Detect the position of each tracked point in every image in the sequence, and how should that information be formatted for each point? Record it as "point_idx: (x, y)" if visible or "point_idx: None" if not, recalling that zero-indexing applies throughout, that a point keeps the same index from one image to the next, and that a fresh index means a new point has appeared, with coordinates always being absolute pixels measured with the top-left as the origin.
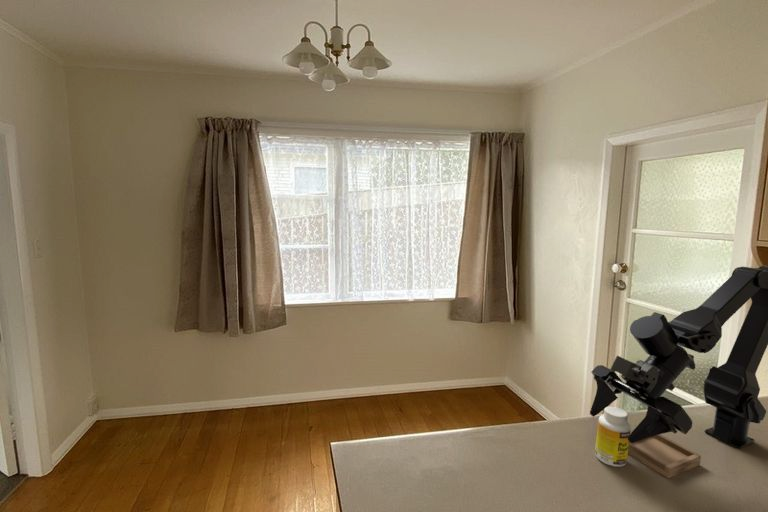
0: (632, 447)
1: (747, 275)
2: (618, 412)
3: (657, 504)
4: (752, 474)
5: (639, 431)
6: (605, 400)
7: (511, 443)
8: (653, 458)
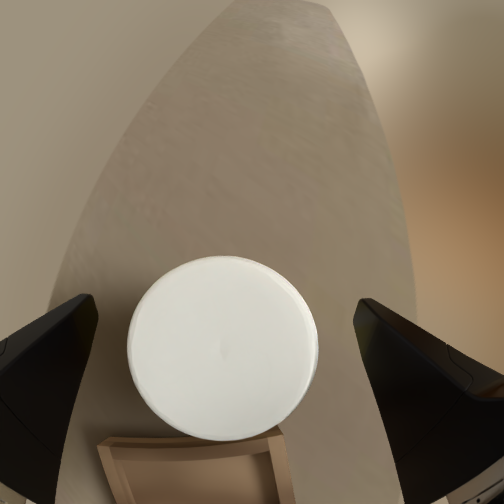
0: (223, 443)
1: None
2: (199, 359)
3: (51, 303)
4: None
5: (30, 324)
6: (413, 418)
7: (340, 129)
8: (148, 451)
